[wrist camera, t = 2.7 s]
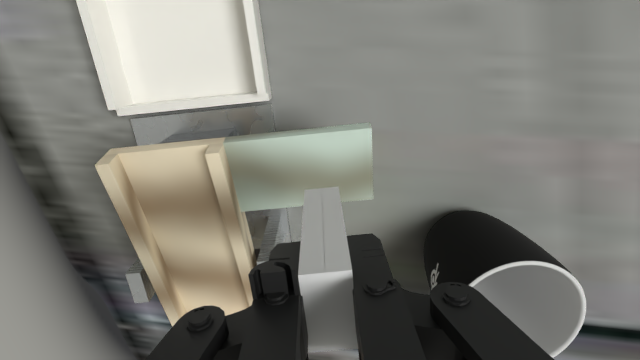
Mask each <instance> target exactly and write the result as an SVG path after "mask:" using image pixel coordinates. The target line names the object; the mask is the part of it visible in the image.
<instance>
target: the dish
mask: <svg viewBox="0 0 640 360" xmlns="http://www.w3.org/2000/svg"><path fill="white" fill-rule="evenodd" d="M76 2H77V6H78V9H79V12H80V16H81V19H82V22H83V26H84V29H85V33H86V36H87V39H88V43H89V46H90V50H91V53H92V56H93V60H94V63H95V67H96V70H97V73H98V77H99V80H100V83H101V87H102V90H103V94H104V97H105V100H106V104H107V107H108V110H116V111H117V115H118V116H125V115H135V114H144V113H154V112H164V111H173V110H183V109H193V108H202V107H212V106H221V105H231V104H241V103H250V102H260V101H269V100H270V99H271V98H272V93H271V86H270V79H269V72H268V65H267V58H266V51H265V44H264V37H263V30H262V23H261V16H260V9H259V2H258V0H76Z"/></svg>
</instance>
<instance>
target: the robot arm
mask: <svg viewBox="0 0 640 360" xmlns="http://www.w3.org/2000/svg"><path fill="white" fill-rule="evenodd" d="M248 276H249V282H250V287H251V292H252V297H253V302H252V305H251V306H249V307H248V308H246V309H244V310H241V311H239V312H236V313H233V314H230V315H226V316H225V313H224V311H223V310H222V309H221V308H220V307H217V306H212V305H211V306H202V307H198V308H195V309H193V310H191V311H189V312H187V313H186V314H184V315H183V316H182V317H181V318H180V319H179V320H178V321H177V322H176V323H175V325H174V326H173V327H172V328H171V329H170V331H169V332H168V333H167V334H166V335H165V337H164V338H163V339H162V340H161V342H160V343H159V344H158V345H157V346H156V348H155V349H154V350H153V351H152V352H151V354H150V355H149V356H148V357H147V358H146V360H308V349H309V353H312V352H324V351H335V350H346V349H358V350H359V360H554V359H553V358H552V357H551V356H550V355H549V354H547V353H546V352H545V351H544V350H543V349H542V348H541V347H540V346H539V345H538V344H536V343H535V342H534V341H533V340H532V339H531V338H530V337H529V336H528V335H526V334H525V333H524V332H523V331H522V330H521V329H520V328H519V327H518V326H516V325H515V324H514V323H513V322H512V321H511V320H510V319H509V318H508V317H507V316H505V315H504V314H503V313H502V312H501V311H500V310H499V309H498V308H497V307H495V306H494V305H493V304H492V303H491V302H490V301H489V300H488V299H487V298H486V297H484V296H483V295H482V294H481V293H480V292H479V291H478V290H476V289H474V288H473V287H471V286H469V285H466V284H463V283H458V282H445V283H441V284H438V285H436V286H435V287H434V288H433V289H432V290H431V292H430V295H423V294H416V293H411V292H409V291H406V290H404V289H402V288H401V286H400V285H399V283H398V282H397V280H395V279H393V277H392V274H391V271H390V268H389V265H388V262H387V259H386V256H385V253H384V250H383V247H382V244H381V241H380V239H378V238H377V237H376V236H375V235H373V234H362V235H352V236H346V229H345V223H344V217H343V211H342V205H341V199H340V193H339V187H329V188H319V189H309V190H305V192H304V205H303V218H302V231H301V241H300V242H289V243H279V244H277V245H276V246H275V247H274V248H273V249H272V250H271V251H270V256H269V261H265V262H263V263H261V264H258V265H257V266H255V267H254V268H253V269H251V271H250V273H249V274H248Z"/></svg>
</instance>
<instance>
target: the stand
mask: <svg viewBox="0 0 640 360" xmlns="http://www.w3.org/2000/svg"><path fill="white" fill-rule="evenodd" d="M130 121H131V124H132V128H133V132H134V135H135V139H136V142H137V146H142V145H152V144H162V143H172V142H182V141H192V140H201V139H211V138H221V137H231V136H241V135H251V134H261V133H270V132H276V130H275V123H274V116H273V109H272V103H271V104H262V105H252V106H242V107H233V108H223V109H213V110H204V111H194V112H184V113H175V114H165V115H155V116H146V117H136V118H132V119H130ZM245 215H246V219H247V223H248V227H249V231H250V235H251V239H252V243H253V246H254V249H260V252H259V255H258V259H257V265H258V264H261V263H263V262H265V261H269V256H270V251H271V250H272V249H273V248H274V247H275V246H276V245H277V244H279V243H289V242H292V241H291V234H290V228H289V221H288V214H287V208H277V209H266V210H256V211H246V212H245ZM125 275H126V278H127V281H128V284H129V287H130V290H131V293H132V296H133V299H134V302H135V303H143V302H149V301H150V300H151V298H152V296H153V295H154V293H155V290H154V288H153V286H152V283H151V281H150V279H149V277H148V275H147V273H146V271H145V269H144V267H143V265H142V263H141V261H140V259H139V258H138V259H137V261H136V262H135V263H134V264H133V266H132V267H131V268H130V269H129V270H128V272H127V273H126V274H125Z"/></svg>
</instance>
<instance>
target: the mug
mask: <svg viewBox="0 0 640 360" xmlns="http://www.w3.org/2000/svg"><path fill="white" fill-rule="evenodd" d="M424 263H425V270H426V274H427V278H428V283H429V286H430V290H432V289H433V288H434V287H435V286H436V285H438V284H441V283H445V282H458V283H463V284H466V285H469V286H471V287H473V288H474V289H476V290H478V291H479V292H480V293H481V294H482V295H483V296H484V297H486V298H487V299H488V300H489V301H490V302H491V303H492V304H493V305H494V306H495V307H497V308H498V309H499V310H500V311H501V312H502V313H503V314H504V315H505V316H507V317H508V318H509V319H510V320H511V321H512V322H513V323H514V324H515V325H516V326H518V327H519V328H520V329H521V330H522V331H523V332H524V333H525V334H526V335H528V336H529V337H530V338H531V339H532V340H533V341H534V342H535V343H536V344H538V345H539V346H540V347H541V348H542V349H543V350H544V351H545V352H546V353H547V354H549V355H550V356H551V357H552V358H553V357H555V356H556V355H558V354H559V353H560V352H562V351H563V350H564V349H565V348H566V347H567V346H568V345H569V344H570V343H571V342H572V341H573V340H574V338H575V337H576V335H577V334H578V332H579V330H580V329H581V326H582V324H583V321H584V318H585V313H586V298H585V294H584V291H583V289H582V287H581V285H580V283H579V282H578V281H577V279H576V278H575V277H574V276H573V275H572V274H571V273H570V272H569V271H568V270H567V269H566V268H565V267H564V266H563V265H562V264H561V263H560V262H558V261H557V260H556V259H555V258H554V257H552V256H551V255H550V254H549V253H548V252H546V251H545V250H544V249H542V248H541V247H540V246H538V245H537V244H536V243H534V242H533V241H532V240H530V239H529V238H527V237H526V236H525V235H523V234H522V233H520V232H519V231H517V230H516V229H514V228H513V227H511V226H509V225H508V224H506V223H504V222H502V221H501V220H499V219H497V218H495V217H493V216H490V215H488V214H485V213H481V212H477V211H460V212H455V213H452V214H449V215H447V216H445V217H444V218H442V219H441V220H439V221H438V222H437V223H436V224H435V225H434V226H433V227H432V229H431V230H430V232H429V234H428V236H427V238H426V241H425V245H424Z"/></svg>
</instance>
